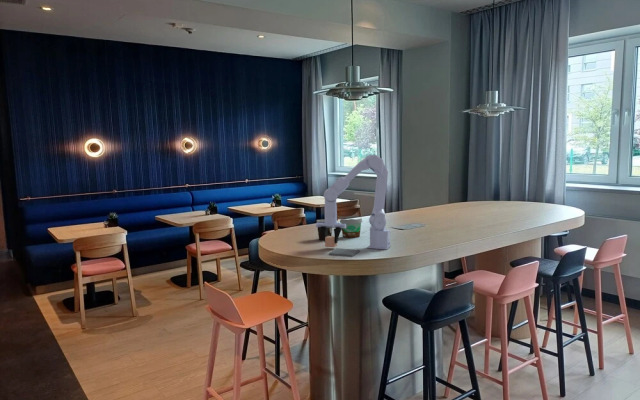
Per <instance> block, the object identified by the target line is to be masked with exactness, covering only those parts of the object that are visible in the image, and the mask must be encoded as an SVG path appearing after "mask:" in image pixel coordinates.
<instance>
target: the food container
mask: <svg viewBox="0 0 640 400" xmlns="http://www.w3.org/2000/svg"><path fill="white" fill-rule="evenodd" d="M339 223H342V224H346V228H342V230H341V236H342V238H344V239H357V238H360V237H361V227H362V223H363V219H362V218H357V219H354V218H350V219H346V218H345V219H344V218H340V221H339Z"/></svg>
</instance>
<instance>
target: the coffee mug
mask: <svg viewBox="0 0 640 400" xmlns="http://www.w3.org/2000/svg"><path fill="white" fill-rule="evenodd" d="M316 223H325V218H324V219H316ZM316 228H317V235H318V240H319V241H323V242H325V241H324V237H323V235H322V233H321V231H320V228H321V227H316ZM332 235H333V228H329V227H328V236H332Z"/></svg>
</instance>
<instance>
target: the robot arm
mask: <svg viewBox="0 0 640 400" xmlns="http://www.w3.org/2000/svg"><path fill="white" fill-rule="evenodd" d="M369 169H370V170H371V171H372V172H374V174H375V175H376V183H375V191H374V199H373V201H374V202H373V209H372V211H371V215H370V217H369V218H368V222H369V224H370V227H369V246H366V247H367V249H375V250H376V249H377V250H388V249H389V248H390V247H391V230H390V229H386V225H387V220H386V214H385V202H386V196H387V195H386V194H387V193H386V192H387V186H388V184H387V183H388V174H389V171H388V170H387V167H386V165H385V163H384V160H383V159H382V158H381V157H380V156H379V155H377V154H369V155H367V156H365V157H364V158H363V159H361V160H360V161H359V162H358V163H357V164H356V165H355V166H354V167H353V168H352V169H351V170H350V171H348V173H346V175H345V176H339V177H337V178H335V179H336V181H335V182H333V183H332V185H329V187H328V188H327V189H326V190H324V192H323V198H324V219H325V223H317V222H316V223H315V228H317V227H321V228H320V231H321V233H322V235H323V237H324V241H323V242H325V237H327V236H328V227H329V228H332V229H333V233H334V235H333V236H335V243H337V244H338V242H339V237H340V233H342V228H346V224H342V223H340V222H338V212H337V211H338V205H337V200H338V196H340V195H341V194H342V193H343V192H344V191H345V190H346V189H347V188H348V187H349V186H350V182H351V181H352V180H353V179H354V178H356V177H357V176H358V175H359V174H360V173H361V172H362V171H367V170H369Z"/></svg>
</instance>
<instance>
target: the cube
mask: <svg viewBox="0 0 640 400" xmlns="http://www.w3.org/2000/svg"><path fill="white" fill-rule="evenodd" d="M337 246H338V243H335V235H333V236H327V237H325V241H324V247H326V248H335V247H337Z"/></svg>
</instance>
